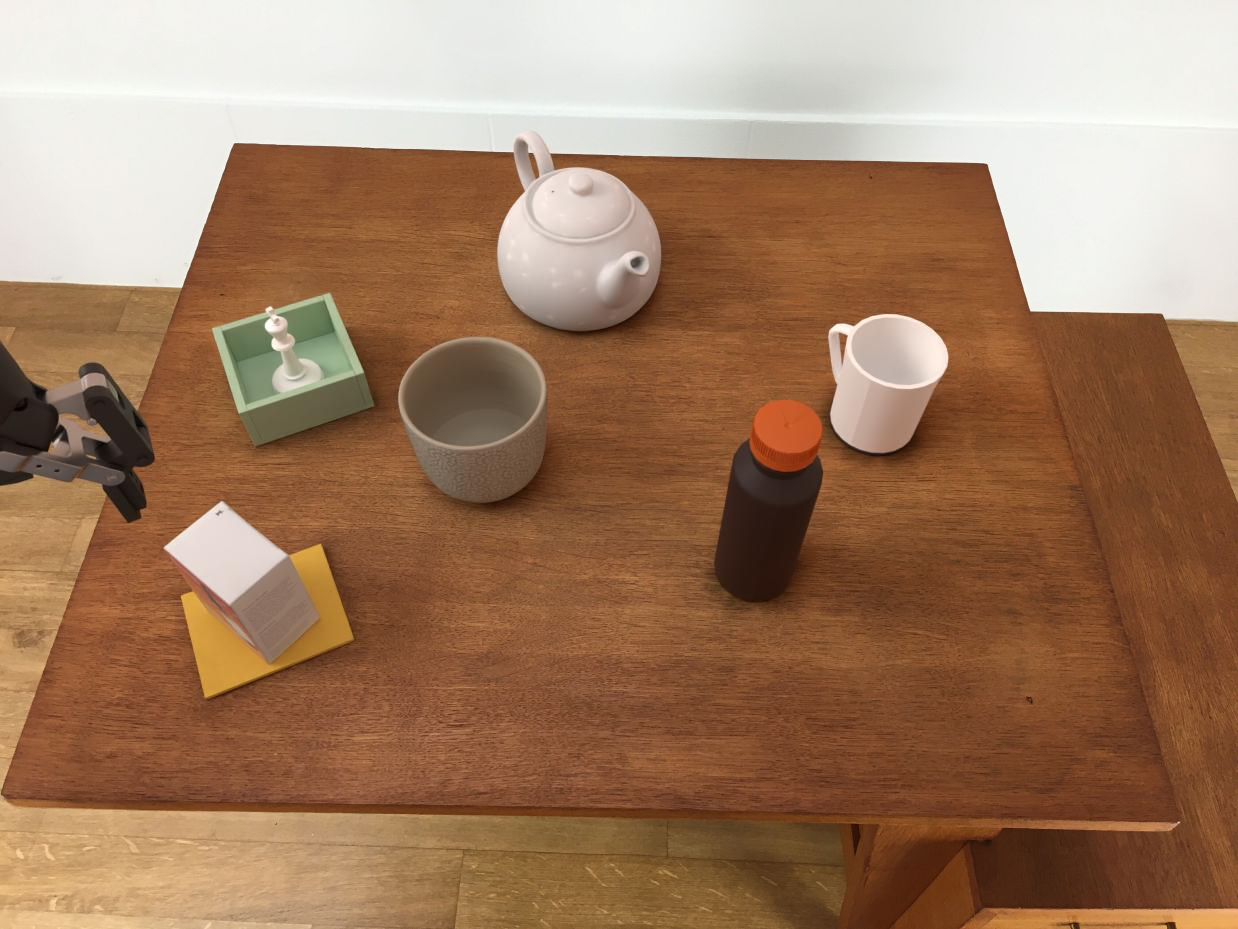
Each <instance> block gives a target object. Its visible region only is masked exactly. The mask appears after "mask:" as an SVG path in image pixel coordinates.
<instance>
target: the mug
mask: <svg viewBox="0 0 1238 929" xmlns="http://www.w3.org/2000/svg"><path fill="white" fill-rule="evenodd" d="M840 334H843V335H846V336H847V338H846V342H845V348H844V354H843V360H842V354H841V353H842V352H841V342H840ZM827 340H828V346H829V348H828V349H829V356H830V364H831V370H832V375H833V378H834V381H835V383H836V388H835V393H834V395H833V401H832V404H831V407H830V412H829V423H830V426H831V428H832V430H833V433H834V434H835V436H836V437H837V439H839V440H840V441H841V443H843V444H844V445H845V446H846V447H848V448H849V449H852V450H854V451H856V452H858V453H861V454H865V455H869V456H885V455H891V454H894V453H896V452H898V451H900V450H902V449H903V448H905V447H906V446H908V444H909V443H910V441H911V440H912V437H913V436H914V434H915V431H916V429H917V427H918V425H919V423H920V421H921V419H922V417H923V414H924V413H925V410H926V408H927V406H928V403H929V401H930V399H931V398H932V395H933V392H934V391H935V389H936V387H937V385H938V384H939V382H940V380H941V379H942V377H943V375H944V374H945V372H946V370H947V368H948V363H949V353H948V350H947V346H946V344H945V343H944V341H943V339H942V336H940V335H939V334H938V333H937V332H936V331H935V330H934V329H933V328H931V327H930V326H928V325H927V324H926V323H923V322H922V321H920V320H917V319H916V318H913V317H910V316H905V315H901V314H895V313H894V314H892V313H890V314H889V313H885V314H884V313H883V314H876V315H872V316H871V315H870V316H869V317H867V318H864V319H862V320H860V321H859V322H858V323H856V324H855V325H851V324H849V323H837V324H835V325H834V326H833V327H831V328H830V329H829V331H828V336H827Z"/></svg>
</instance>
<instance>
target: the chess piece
mask: <svg viewBox="0 0 1238 929" xmlns="http://www.w3.org/2000/svg"><path fill="white" fill-rule="evenodd" d="M265 312H266V313H267V314H268V315H269V316H270V319H269V320H268V321H267V322H266V323H265V329H266V330H267V332H268V333H269V334H271V335H272V336H273V339H272V347H273V349H275V350H277V351H281V355H282V359H283V364H282V365H281V366H279V367H278V368H277V369H276V371H275V372H274V374H273V377H272V384H273V389H274V391H275V393H276V394H280V393H283V392H286V391H289V390H293V389H296V388H299V387H302V386H305V385H308V384H311V383H314V382H317V381H320V380H323V379H324V374H323V371H322V370H321V368H320V367H319V365H318V364H317V363H315V362H314V361H311V360H308V359H298V358H297V356H296V355H295V353H294V351H293V350H292V347H293V346H294V344H295V339H294V337H293V336H292V335H290V334H288V333H287V328H288V323H287V320H286V319H285V318H283V317H279V316H277V315H276V314H275V312H274V307H272V306H268V307H266V308H265Z"/></svg>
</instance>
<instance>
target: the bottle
mask: <svg viewBox="0 0 1238 929" xmlns="http://www.w3.org/2000/svg"><path fill="white" fill-rule="evenodd" d="M823 435H824V425H823V422H822V420H821V418H820V416H819V415H818V413H816V411H814V409H812V408H811V407H809V406H808V405H807V404H805V403H802V402H799V401H798V400H797V401H796V400H792V399H776V400H773V401H770V402H767V403H766V404H764V405H762V406H761V407H760V408H759V409H758V410H757V411H756V413H755V415H754V417H753V419H752V425H751V429H750V437H749V438H748V439H747V440H745V441H744V442H741V444H740V445H739V446H738V448H737V449H736V451H735V453H734V454H733V457H732V462H731V467H730V473H729V478H728V484H727V489H726V494H725V500H724V506H723V510H722V517H721V521H720V527H719V534H718V539H717V544H716V549H715V555H714V560H713V565H714V572H715V575H716V577H717V580H718V581H719V583H720V585H721V586H722V587H723V588H724V590H726V591H727V592H728V593H729V594H732V595H733V596H735V597H737V598H738V599H740V600H745V601H748V602H765V601H768V600H771V599H773V598H776V597H777V596H778V595H780V594H781V593H782V592H783V591H785V590H786V589H787V588H788V586H789V584H790V582H791V581H792V578H793V575H794V572H795V569H796V566H797V562H798V559H799V557H800V553H801V550H802V548H803V544H804V541H805V537H806V534H807V531H808V528H809V525H810V522H811V519H812V517H813V513H814V510H815V508H816V503H817V500H818V498H819V494H820V491H821V488H822V483H823V477H824V469H823V464H822V460H821V458H820V457H819V455H818V452H819V449H820V446H821V442H822V439H823V437H824V436H823Z"/></svg>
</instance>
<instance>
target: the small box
mask: <svg viewBox="0 0 1238 929" xmlns="http://www.w3.org/2000/svg"><path fill="white" fill-rule="evenodd" d="M162 549H163V551H164V553H165V554H166V555H167V557H168V558H169V559H170V561H171V562H172V564H173V565H174V566H175V568H176V569H177V570H178V572H179V573H180V575H181V576H182V577H183V579H184V580H185V582H186V583H187V585H188V586H189V587H190V589H191V591H193V592H194V593H195V594H196V596H197V597H198V599H199V600H200V601H201V603H202V604H203V606H204V607H205V608H206V610H207V611H208V612H209V613H210V614H211V615H213V616H214V617H215V618H216V619H218V620H219V621H220V622H221V623H222V624H224V625H225V626H226V627H227V628H228V629H229V630H231V631H232V632H233V633H234V634H235V635H236V636H237V637H238V638H239V639H240V640H241V641H243V642H244V643H245V644H246V645H247V646H248V647H249V648H250V649H252V650H253V651H254V652H255V653H256V654H257V655H258V656H259V657H260V658H262V659H263V660H264V661H265V662H266V663H267V664H271V663H272V662H273V661H274V660H275V659H276V658H278V657H279V656H280V655H281V654H282V653H283V652H284V651H285V650H286V649H287V648H289V647H290V646H291V645H292V644H293V643H294V642H295V641H296V640H297V639H298V638H299V637H300V636H302V635H303V634H304V633H305V632H306V631H307V630H308V629H309V628H310V627H311V626H312V625H313V624H315V623H316V622H317V621H318V620H319V619H320V616H319V614H318V612H317V610H316V608H315V606H314V604H313V602H312V600H311V598H310V596H309V594H308V592H307V590H306V588H305V586H304V584H303V582H302V580H301V578H300V576H299V574H298V572H297V570H296V568H295V566H294V564H293V562H292V560H291V558H290V556H289V555H290V554H288V553H287V552H285V551H284V550H283V549H281V548H280V547H279V546H277V545H276V544H275V543H273V542H272V541H271V540H269V539H268V538H267V537H266V536H264V534H262V533H261V532H260V531H259V530H257V529H256V528H255V527H253V526H252V525H251V524H250V523H248V521H246V520H245V519H244V518H243V517H242V516H240V515H239V514H238V513H237V512H235V511H234V510H233V509H232V508H231V507H230V506H229V505H228V504H227V503H226V502H225V501H224V500H221V501H220V502H218V503H217V504H216V505H215V506H213V507H212V508H211V509H209V510H208V511H207V512H206V513H205V514H203V515H202V516H200V517H199V519H197V520H195V521H194V522H193V523H192V524H191V525H189V526H188V527H187V528H185V529H184V530H183V531H182V532H181V533H179V534H178V535H177V536H176V537H174V538H173V539H172V540H171V541H170V542H168V544H166V545H164V547H163V548H162Z"/></svg>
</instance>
